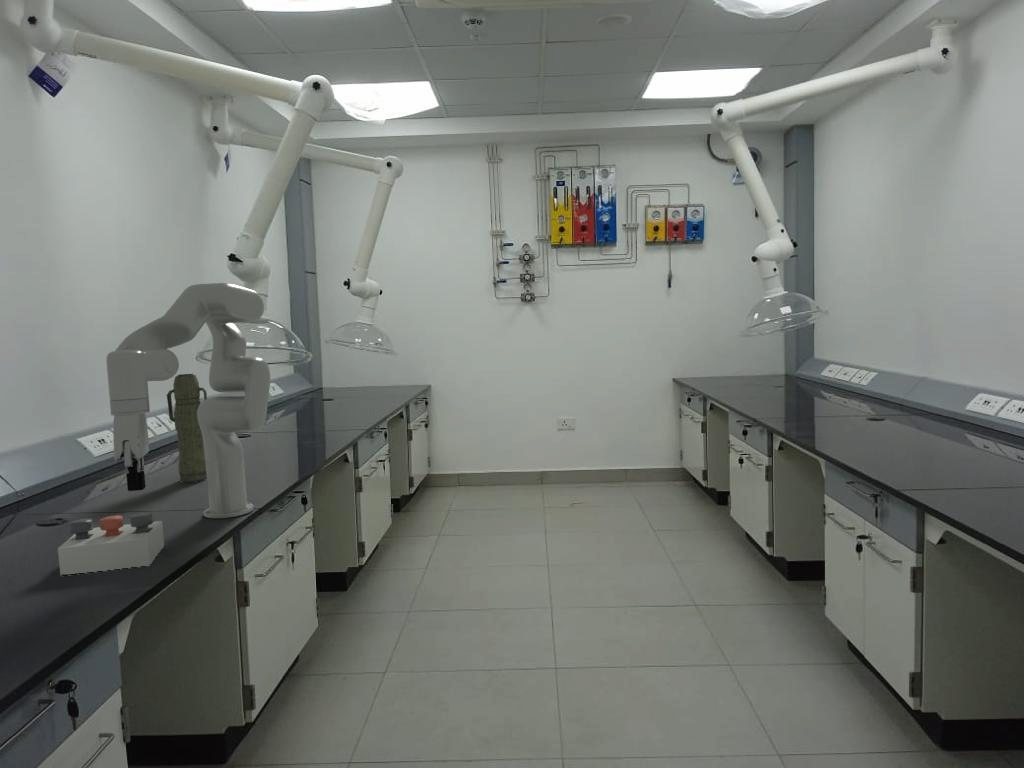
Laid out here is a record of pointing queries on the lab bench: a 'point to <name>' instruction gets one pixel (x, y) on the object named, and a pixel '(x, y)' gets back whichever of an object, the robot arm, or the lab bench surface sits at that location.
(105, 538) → the control box
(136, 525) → the grey knob
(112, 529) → the red knob
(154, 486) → the lab bench surface
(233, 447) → the robot arm
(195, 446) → the thermos
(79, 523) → the grey knob
